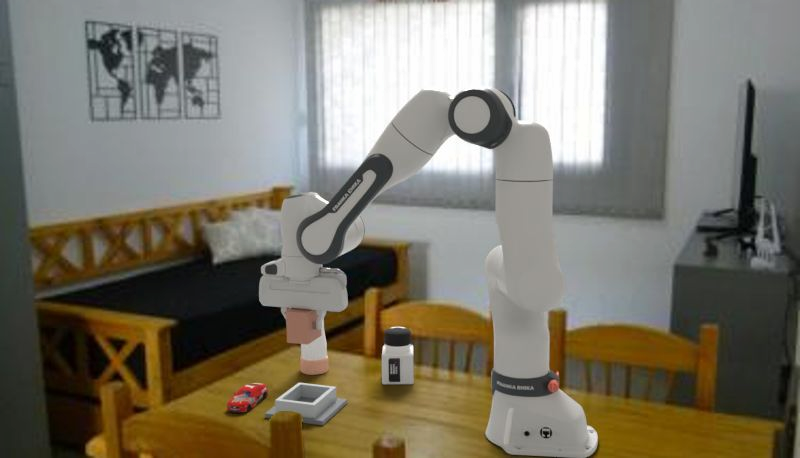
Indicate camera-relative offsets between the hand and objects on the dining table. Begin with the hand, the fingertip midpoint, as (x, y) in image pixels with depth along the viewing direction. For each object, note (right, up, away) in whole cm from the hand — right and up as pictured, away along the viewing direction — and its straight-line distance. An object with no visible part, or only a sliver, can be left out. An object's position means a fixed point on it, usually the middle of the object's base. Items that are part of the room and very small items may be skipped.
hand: (304, 327), depth 168 cm
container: (+21, -16, +22) cm, 34 cm away
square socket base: (0, -19, +3) cm, 19 cm away
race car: (-14, -19, +8) cm, 25 cm away
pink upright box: (0, -3, 0) cm, 3 cm away
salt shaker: (-1, -15, +30) cm, 33 cm away
